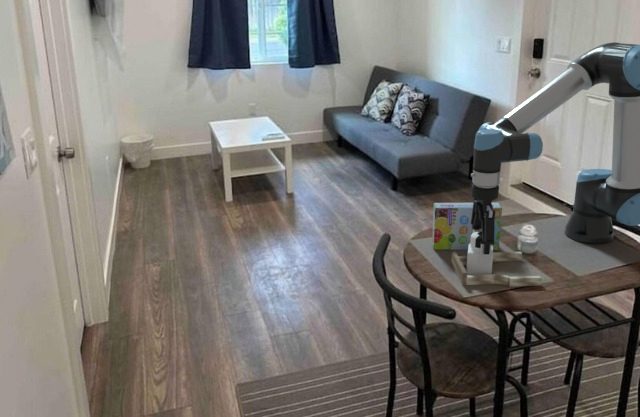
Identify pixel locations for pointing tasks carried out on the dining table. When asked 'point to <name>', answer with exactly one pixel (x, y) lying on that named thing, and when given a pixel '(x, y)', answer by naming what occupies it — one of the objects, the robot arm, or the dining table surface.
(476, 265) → the medicine bottle
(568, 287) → the dining table surface
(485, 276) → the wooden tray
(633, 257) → the dining table surface
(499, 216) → the snack box
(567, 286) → the dining table surface
